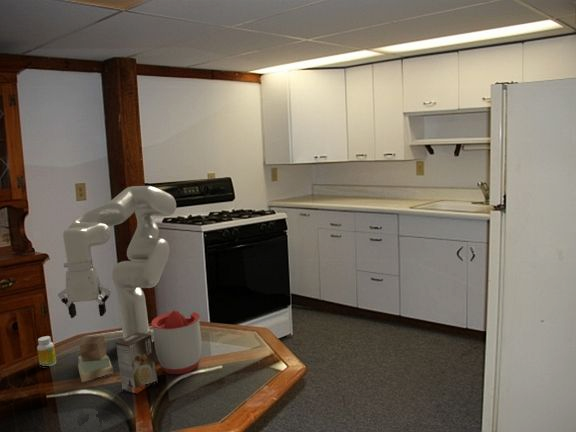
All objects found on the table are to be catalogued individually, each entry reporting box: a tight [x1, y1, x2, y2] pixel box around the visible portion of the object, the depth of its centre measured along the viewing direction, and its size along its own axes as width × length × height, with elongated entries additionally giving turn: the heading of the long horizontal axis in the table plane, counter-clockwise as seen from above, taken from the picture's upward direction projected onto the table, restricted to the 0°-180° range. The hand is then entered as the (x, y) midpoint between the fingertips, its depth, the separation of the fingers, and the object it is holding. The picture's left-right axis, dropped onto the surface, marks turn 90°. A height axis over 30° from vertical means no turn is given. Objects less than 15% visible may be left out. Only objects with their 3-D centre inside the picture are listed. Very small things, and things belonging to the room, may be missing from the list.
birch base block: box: [77, 358, 114, 383], centre depth 182 cm, size 10×10×3 cm
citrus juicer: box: [150, 309, 202, 375], centre depth 181 cm, size 16×17×20 cm
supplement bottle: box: [36, 335, 57, 367], centre depth 191 cm, size 5×5×10 cm
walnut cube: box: [79, 335, 107, 362], centre depth 181 cm, size 6×6×6 cm
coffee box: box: [115, 332, 158, 390], centre depth 169 cm, size 9×6×16 cm
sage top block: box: [77, 353, 110, 373], centre depth 182 cm, size 8×8×3 cm
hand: (88, 315), depth 179 cm, fingers open, 9 cm apart
